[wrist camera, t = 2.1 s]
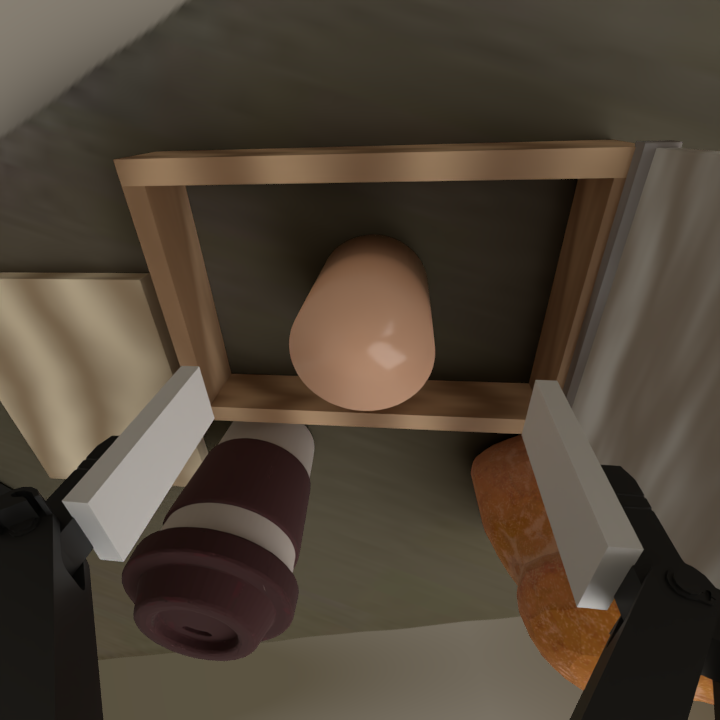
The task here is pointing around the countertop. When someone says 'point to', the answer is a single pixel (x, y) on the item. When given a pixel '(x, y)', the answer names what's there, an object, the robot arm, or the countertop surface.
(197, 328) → the cold frame
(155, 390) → the board
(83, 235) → the countertop surface
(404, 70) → the countertop surface
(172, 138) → the countertop surface
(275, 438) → the coffee cup
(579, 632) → the bread
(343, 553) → the countertop surface
